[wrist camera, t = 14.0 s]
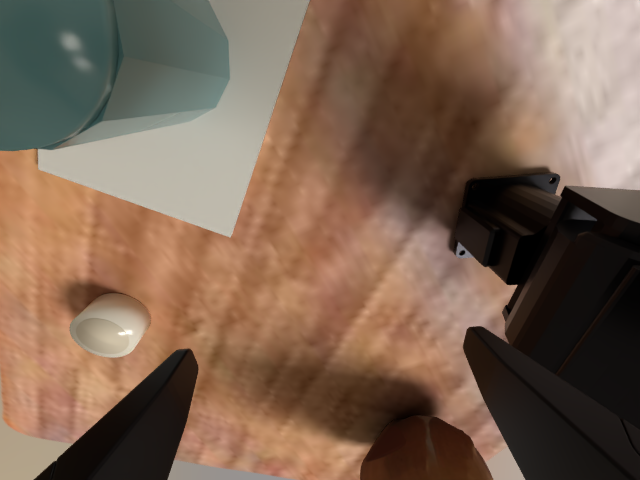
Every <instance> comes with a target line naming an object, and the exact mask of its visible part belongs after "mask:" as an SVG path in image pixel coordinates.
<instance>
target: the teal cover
mask: <svg viewBox="0 0 640 480" xmlns="http://www.w3.org/2000/svg"><path fill="white" fill-rule="evenodd" d="M229 80H230V66H229V42H228V39H227V37H226V34H225V32H224V30H223V28H222V26H221V24H220V22H219V20H218V18H217V16H216V14H215V12H214V10H213V8H212V6H211V4H210V2H209V0H0V151H18V150H27V149H45V150H55V149H60V148H64V147H69V146H74V145H79V144H84V143H88V142H93V141H98V140H103V139H108V138H113V137H117V136H122V135H127V134H132V133H137V132H141V131H146V130H151V129H156V128H161V127H165V126H170V125H175V124H180V123H185V122H190V121H192V120H194V119H196V118H197V117H199V116H201V115H203V114H205V113H207V112H209V111H211V110H212V109H214V108H216V106H217V104H218V102H219V100H220V98H221V96H222V94H223V92H224V90H225V88H226V86H227V84H228V82H229Z"/></svg>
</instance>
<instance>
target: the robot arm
mask: <svg viewBox="0 0 640 480" xmlns="http://www.w3.org/2000/svg"><path fill="white" fill-rule="evenodd" d="M551 178H552V180H551V181H550V182H549V180H550V179H551ZM559 181H560V176H559V175H558V174H556V173H552V172H548V173H535V174H522V175H509V176H496V177H483V178H473V179H470V180H469V181H468V182H467V184H466V187H465V193H464V198H463V204H462V207H461V209H460V210H459V216H458V221H457V227H456V232H455V239H456V242H455V247H454V254H455V255H456V256H457V257H458V258H470V257H474V258H475V259H476V260H477V261H478V262H480V263H481V264H482V265H483V266H484V267H489V268H490V269H491V270H493V271H494V272H495V273H496V274H497V275H498V276H499V277H500V278H501V279H502V280H503V281H504V282H505V283H506V284H507V285H518V286H517V288H516V290H515V292H514V294H513V296H512V298H511V300H510V302H509V304H508V305H506V306H505V307H504V309H503V311H502V314H503V316H504V319H505V321H506V323H505V335H506V337H507V339H508V342H509V344H508V343H507V342H505V341H504V340H502V339H501V338H499V337H497V336H496V335H494V334H493V333H491V332H490V331H488V330H487V329H485V328H484V327H481V326H476V327H469V328H468V329H467V331H466V335H465V340H464V344H463V349H464V353H465V355H466V358H467V360H468V363H469V365H470V367H471V370H472V372H473V375H474V377H475V380H476V382H477V385H478V387H479V390H480V392H481V394H482V397H483V399H484V401H485V403H486V405H487V407H488V409H489V411H490V413H491V415H492V417H493V419H494V421H495V422H496V424H497V426H498V428H499V430H500V432H501V434H502V436H503V438H504V440H505V442H506V443H507V445H508V447H509V449H510V451H511V453H512V455H513V457H514V459H515V461H516V463H517V464H518V466H519V468H520V470H521V472H522V474H523V476H524V478H525V480H640V190H625V189H610V188H595V187H580V186H565V187H564V189H563V191H562V193H561V195H560V196H561V197H560V196H557V195H555V193H556V190H557V187H558V184H559ZM475 183H476V186H475V187H474V188H472V186H473V185H474V184H475ZM462 250H463V251H462ZM460 251H462V252H461V253H459V252H460ZM197 375H198V364H197V361H196V359H195V356H194V354H193V352H192V350H191V349H178V350H176V351H175V352H174V353H173V354H172V355H170V356H169V357H168V358H167V359H166V360H165V361H164V362H163V363H162V364H161V365H159V366H158V367H157V368H156V369H155V370H154V371H153V372H152V373H151V374H150V375H148V376H147V377H146V378H145V379H144V380H143V381H142V382H141V383H140V384H139V385H138V386H136V387H135V388H134V389H133V390H132V391H131V392H130V393H129V394H128V395H127V396H125V397H124V398H123V399H122V400H121V401H120V402H119V403H118V404H117V405H116V406H114V407H113V408H112V409H111V410H110V411H109V412H108V413H107V414H106V415H105V416H103V417H102V418H101V419H100V420H99V421H98V422H97V423H96V424H95V425H94V426H92V427H91V428H90V429H89V430H88V431H87V432H86V433H85V434H84V435H83V436H81V437H80V438H79V439H78V440H77V441H76V442H75V443H74V444H73V445H72V446H70V448H68V449H67V450H66V451H65V452H64V453H63V454H62V455H61V456H59V457H58V459H57V461H54V462H53V463H52V464H51V465H49V466H48V467H47V468H46V469H45V470H44V471H43V472H42V473H41V474H40V475H38V476H37V477H36V478H35V479H34V480H167V479H168V476H169V473H170V470H171V467H172V464H173V461H174V458H175V455H176V452H177V449H178V446H179V443H180V440H181V437H182V434H183V431H184V428H185V425H186V422H187V418H188V414H189V410H190V405H191V401H192V397H193V392H194V388H195V384H196V379H197Z"/></svg>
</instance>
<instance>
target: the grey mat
mask: <svg viewBox="0 0 640 480" xmlns="http://www.w3.org/2000/svg"><path fill="white" fill-rule="evenodd" d="M209 2H210V4H211V6H212V8H213V10H214V12H215V14H216V16H217V18H218V20H219V22H220V24H221V26H222V28H223V30H224V32H225V34H226V37H227V39H228V42H229V66H230V80H229V82H228V84H227V86H226V88H225V90H224V92H223V94H222V96H221V98H220V100H219V102H218V104H217V106H216V108H214V109H212V110H211V111H209V112H207V113H205V114H203V115H201V116H199V117H197V118H196V119H194V120H192V121H190V122H185V123H180V124H175V125H170V126H165V127H161V128H156V129H151V130H146V131H141V132H137V133H132V134H127V135H122V136H117V137H113V138H108V139H103V140H98V141H93V142H88V143H84V144H79V145H74V146H69V147H64V148H60V149H55V150H45V149H38V169H39V170H42V171H44V172H47V173H50V174H53V175H56V176H58V177H61V178H64V179H67V180H70V181H73V182H75V183H78V184H81V185H84V186H87V187H89V188H92V189H95V190H98V191H101V192H104V193H106V194H109V195H112V196H115V197H118V198H120V199H123V200H126V201H129V202H132V203H135V204H137V205H140V206H143V207H146V208H149V209H152V210H154V211H157V212H160V213H163V214H166V215H168V216H171V217H174V218H177V219H180V220H183V221H185V222H188V223H191V224H194V225H197V226H199V227H202V228H205V229H208V230H211V231H214V232H216V233H219V234H222V235H225V236H228V237H231V236H232V233H233V230H234V227H235V224H236V221H237V218H238V215H239V212H240V209H241V206H242V203H243V200H244V197H245V194H246V191H247V188H248V185H249V182H250V179H251V176H252V173H253V170H254V167H255V164H256V161H257V158H258V155H259V152H260V149H261V146H262V143H263V140H264V137H265V134H266V131H267V128H268V125H269V122H270V119H271V116H272V113H273V110H274V107H275V104H276V101H277V98H278V95H279V92H280V89H281V86H282V83H283V80H284V77H285V74H286V71H287V68H288V65H289V62H290V59H291V56H292V53H293V50H294V47H295V44H296V41H297V38H298V35H299V32H300V29H301V26H302V23H303V20H304V17H305V14H306V11H307V8H308V5H309V2H310V0H209Z"/></svg>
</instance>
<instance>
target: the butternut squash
mask: <svg viewBox="0 0 640 480" xmlns="http://www.w3.org/2000/svg"><path fill="white" fill-rule="evenodd" d="M360 480H493V478H492V476H491V473H490V471H489V469H488V467H487V465H486V463H485V461H484V460H483V458H482V456H481V455H480V454H479V452H478V451H477V449H476V448H475V447H474V444H473V441H472V440H471V438H470V437H469V436H468V435H466V434H465V433H464V432H463V431H462V430H459V429H457V428H456V427H454V426H452V425H450V424H448V423H446V422H445V421H443V420H441V419H439V418H437V417H429V416H419V415H415V416H411V417H408V418H406V419H395V420H393V421H392V422H391V423H390V424H388V425H387V426H386V427H385V429H384V430H383V431H382V433H381V434H380V436H379V437H378V438H377V440H376V441H375V442H374V444H373V446H372V447H371V449H370V450H369V452H368V454H367V455H366V457H365V458H364V460H363V462H362V465H361V470H360Z"/></svg>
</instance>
